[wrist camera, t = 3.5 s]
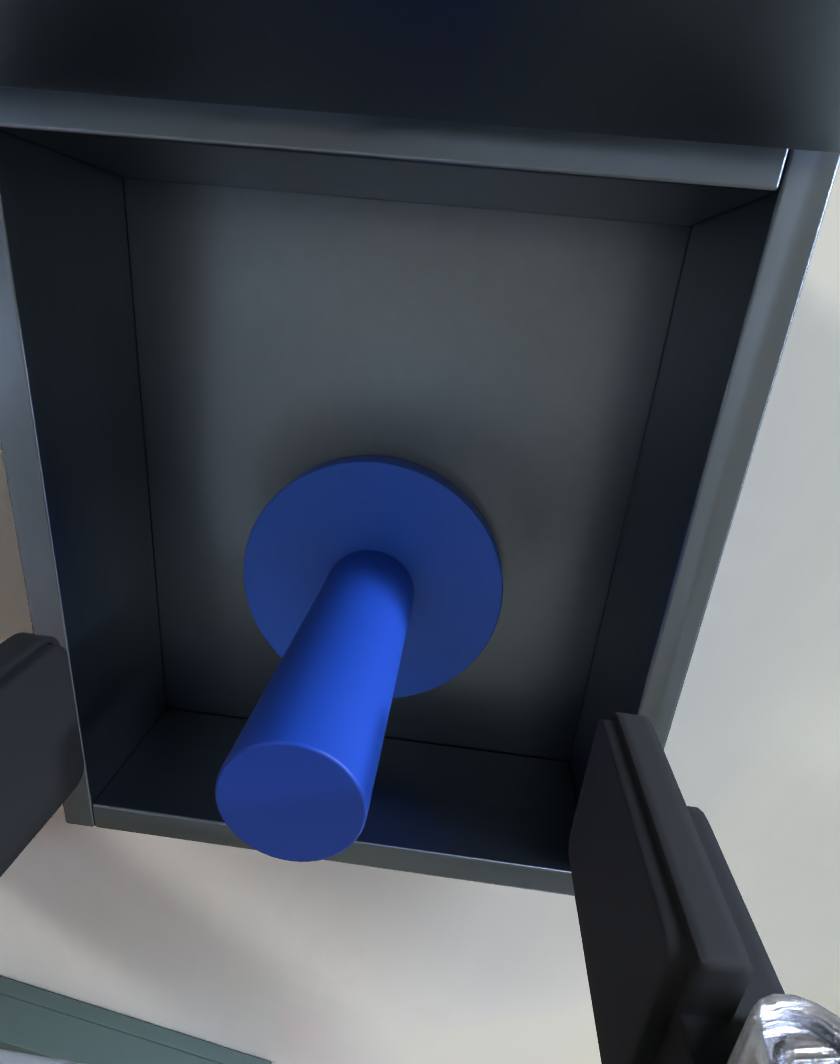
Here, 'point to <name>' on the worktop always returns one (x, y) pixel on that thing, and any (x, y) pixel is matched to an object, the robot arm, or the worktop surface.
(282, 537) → the blue disc with rod
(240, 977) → the worktop surface
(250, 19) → the gray box lid
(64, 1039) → the tray
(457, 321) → the open box
